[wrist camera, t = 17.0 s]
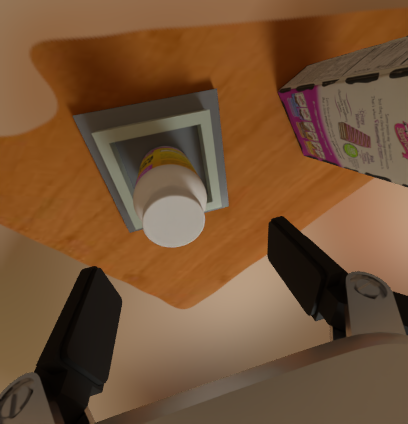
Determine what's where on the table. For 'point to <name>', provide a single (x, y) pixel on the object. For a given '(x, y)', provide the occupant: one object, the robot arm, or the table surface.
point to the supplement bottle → (169, 198)
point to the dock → (157, 144)
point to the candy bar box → (355, 110)
